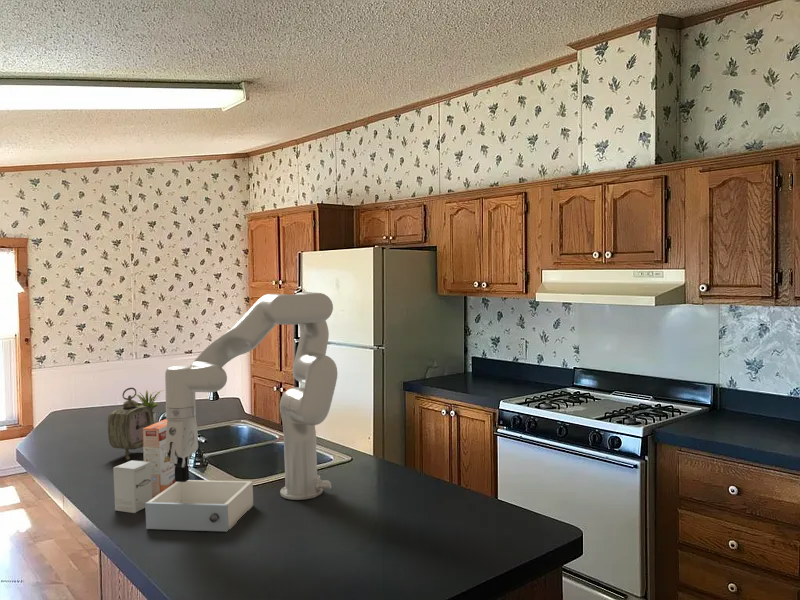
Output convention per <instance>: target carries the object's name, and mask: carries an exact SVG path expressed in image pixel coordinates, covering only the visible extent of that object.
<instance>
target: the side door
mask: <svg viewBox="0 0 800 600" xmlns="http://www.w3.org/2000/svg"><path fill="white" fill-rule="evenodd" d="M144 509H145V526H146V527H145V529H146V530H164V531H165V530H169V531H197V532H199V531H201V532H206V531H207V532H229V531H228V508H227V504H205V503H167V502H146V503H145V508H144Z"/></svg>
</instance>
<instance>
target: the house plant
mask: <svg viewBox="0 0 800 600" xmlns="http://www.w3.org/2000/svg"><path fill="white" fill-rule="evenodd" d="M163 391H165V390H160V391H158V392H157V391H154V392H152V393H150V394H149V391H148V390H147V389H146V391H145V396H144V395H143V394H142V393H141V392H139V394H140V395H139V394H137V393H136V396H135V397H134V399H137V397H138V398H139V399H140V400H139V401H140V403H139V402H137V401H135V402H136V403H137V404H138V406H149V407H151V408H152V412H153V419H154V424H155V423H156V416H157V411H153V410H154V409H155V407H158V406H160V404H158V402H155V401H156V400H157V397H158V396H159V395H160V394H161V392H163ZM155 393H156V394H155ZM153 394H155V395H154V396H153ZM152 396H153V397H152Z"/></svg>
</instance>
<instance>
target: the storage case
mask: <svg viewBox="0 0 800 600" xmlns="http://www.w3.org/2000/svg"><path fill="white" fill-rule="evenodd" d="M253 484H254V483H253V481H252V480H251V481H250V480H249V481H248V480H210V479H209V480H208V479H207V480H206V479H205V480H204V479H200V480H199V479H189V480H188V481H186V482H175V483H174V484H173V485H171V486H170V487H168V488H167V489H165V490H164V491H163V492H161V493H160V494H158V495H157V496H155V497H152V499H151V500H150V501H148V502H167V503H205V504H227V508H228V530H229V529H230V530H231V529H232V528H233V527H234V526H235V525H236V524H237V523H238V522H239V521H240V520H241V519H242V518H243V517H244V516H245V515H246V514H247V513H248V512H249V511H250V510H251V508H252V507H254V490H253V489H254V487H253ZM247 511H248V512H247ZM246 512H247V513H246ZM245 513H246V514H245ZM244 514H245V515H244ZM243 515H244V516H243ZM242 516H243V517H242ZM241 517H242V518H241ZM240 518H241V519H240ZM239 519H240V520H239ZM238 520H239V521H238ZM237 521H238V522H237ZM230 530H229V531H230Z"/></svg>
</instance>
